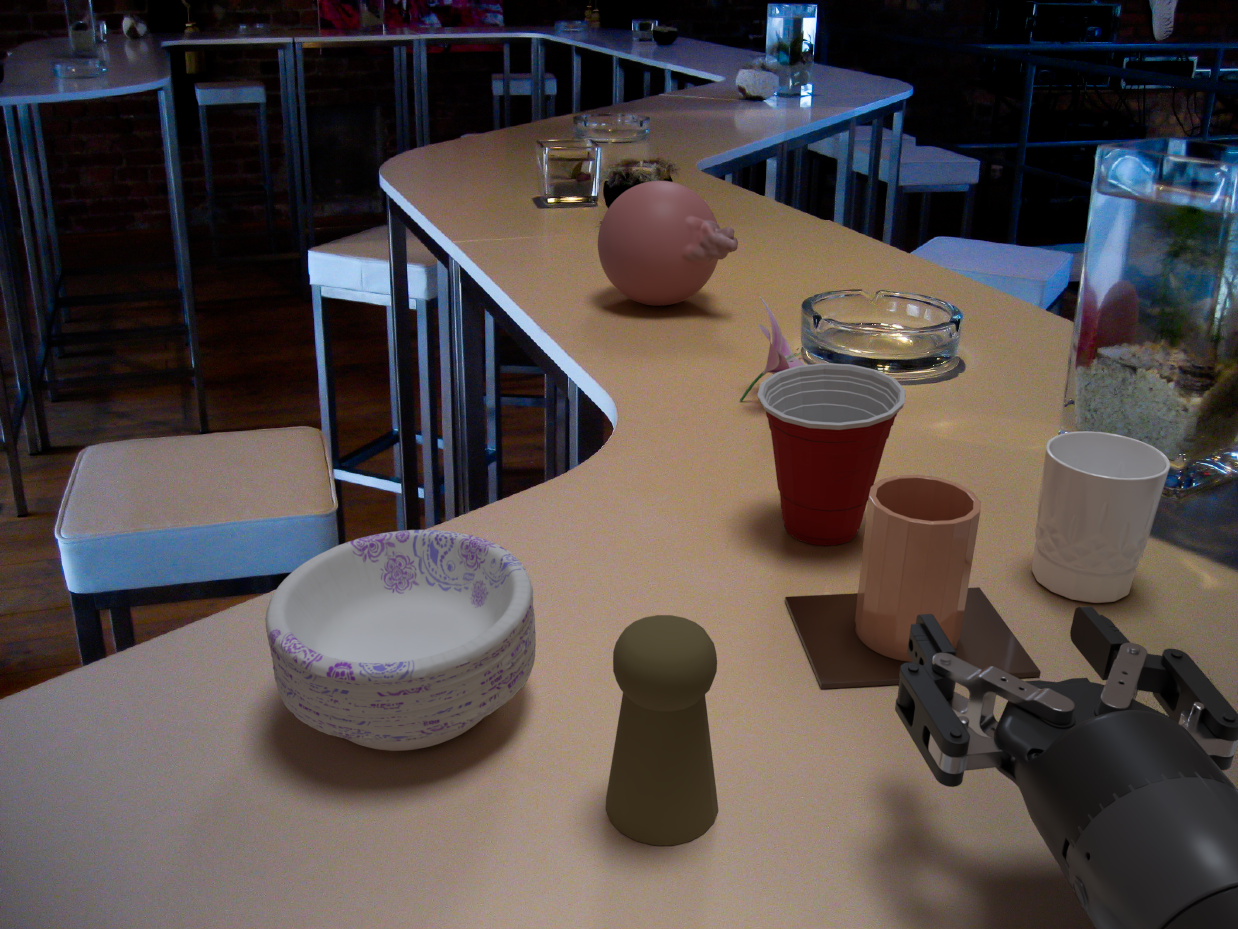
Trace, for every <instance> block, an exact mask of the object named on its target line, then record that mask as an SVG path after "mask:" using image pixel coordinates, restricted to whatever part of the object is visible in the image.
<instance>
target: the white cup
mask: <svg viewBox="0 0 1238 929" xmlns="http://www.w3.org/2000/svg"><path fill="white" fill-rule="evenodd" d="M1044 449H1045V450H1044V451H1045V452H1044V458H1043V465H1042V466H1043V467H1042V471H1041V480H1040V487H1039V496H1038V500H1037V502H1038V503H1037V514H1036V521H1035V528H1034V529H1035V530H1034V531H1035V542H1034V547H1033V548H1034V549H1033V555H1032V561H1031V562H1032V563H1031V572H1032V574H1033V575H1034V578H1035V581H1036V582H1037V583H1038V584H1040V585H1041V586H1043V588H1045V589H1046V590H1048V591H1049V592H1051V593H1054V594H1056V595H1058V596H1062V597H1064V598H1067V599H1068V600H1069V599H1070V600H1074V601H1078V602H1085V603H1093V604H1101V603H1113V602H1117V601H1120V599H1123V598H1125V597H1127V596H1128V595H1129V594H1130V591H1131V588H1132V585H1133V582H1134V579H1135V575H1136V571H1137V569H1138V566H1139V565H1140V564H1139V563H1140V561H1142V559H1143V557H1144V552H1145V549H1146V546H1147V544H1148V541H1149V539H1150V535H1151V532H1152V529H1153V525H1154V521H1155V518H1156V515H1157V511H1158V509H1159V506H1160V502H1161V498H1162V495H1163V492H1164V488H1165V485H1166V483H1167V479H1168V475H1169V472H1170V469H1171V461H1170V459H1169V458H1168V456H1167V455H1166V454H1164V452H1162V451H1161V450H1160V449H1158V448H1157V447H1155V446H1153V445H1151V444H1149V443H1147V442H1144V441H1143V440H1139V439H1136V438H1132V437H1129V436H1125V435H1121V434H1116V433H1112V432H1103V431H1093V430H1092V431H1091V430H1086V431H1085V430H1082V431H1071V432H1070V431H1069V432H1064V433H1059V434H1057V435H1054V436H1053V437H1051V438H1050V439H1049V440H1047V442H1046V444H1045V448H1044Z"/></svg>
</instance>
